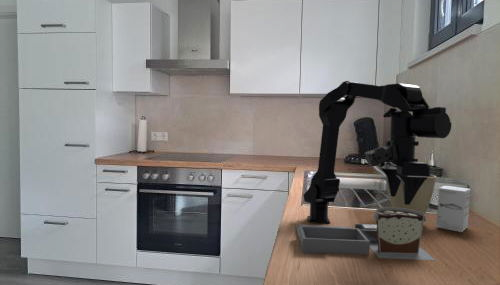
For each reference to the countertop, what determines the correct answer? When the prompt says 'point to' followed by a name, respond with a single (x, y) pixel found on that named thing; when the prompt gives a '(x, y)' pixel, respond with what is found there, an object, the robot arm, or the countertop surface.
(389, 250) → the food container
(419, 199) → the plant pot
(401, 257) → the grey mat
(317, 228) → the case
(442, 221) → the supplement box
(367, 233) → the bracket
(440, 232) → the countertop surface
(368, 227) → the silver metal bar
